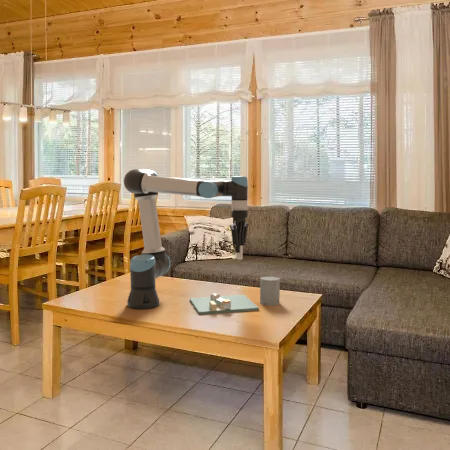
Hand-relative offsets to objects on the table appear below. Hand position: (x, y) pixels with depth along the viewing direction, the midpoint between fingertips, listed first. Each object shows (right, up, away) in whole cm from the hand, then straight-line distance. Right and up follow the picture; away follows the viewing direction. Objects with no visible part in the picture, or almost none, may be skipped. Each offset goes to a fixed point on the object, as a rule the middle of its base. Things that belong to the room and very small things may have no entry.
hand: (239, 259), depth 231 cm
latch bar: (-9, -21, -3) cm, 23 cm away
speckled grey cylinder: (+15, -22, +7) cm, 27 cm away
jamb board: (-8, -22, +3) cm, 24 cm away
